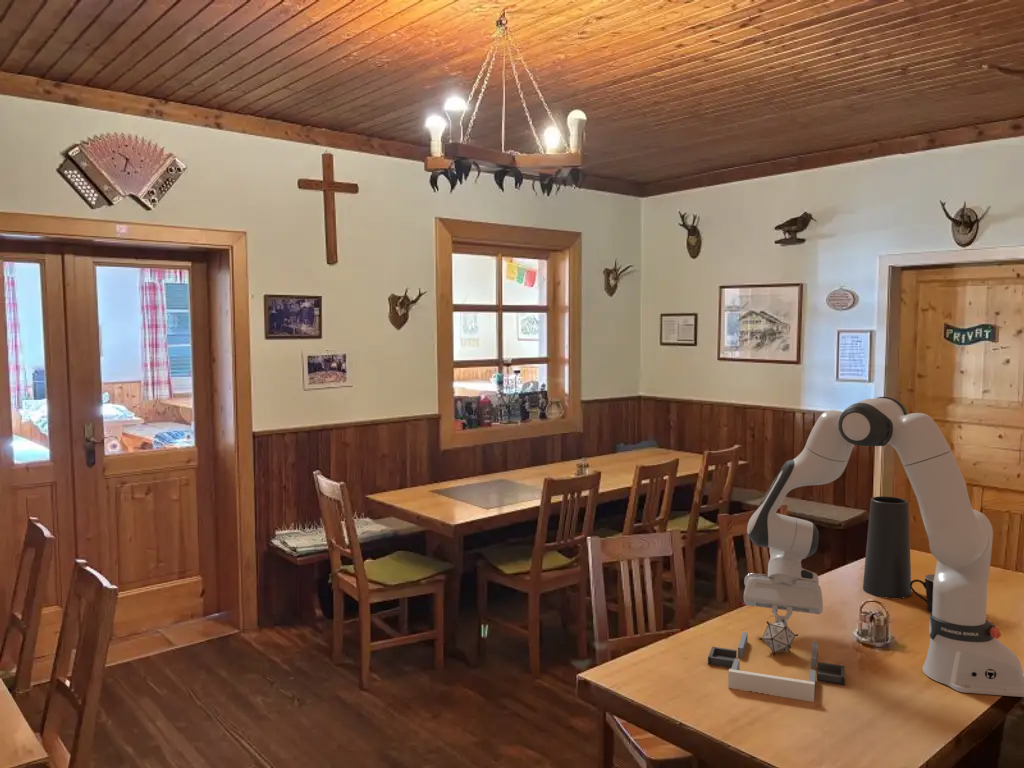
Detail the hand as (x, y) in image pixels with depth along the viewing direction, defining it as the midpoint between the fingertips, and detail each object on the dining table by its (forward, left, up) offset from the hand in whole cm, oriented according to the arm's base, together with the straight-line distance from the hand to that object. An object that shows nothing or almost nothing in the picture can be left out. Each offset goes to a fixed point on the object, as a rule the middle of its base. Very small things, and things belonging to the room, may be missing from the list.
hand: (781, 623), depth 211 cm
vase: (-28, -52, -5) cm, 59 cm away
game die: (0, +9, -5) cm, 10 cm away
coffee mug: (-40, -38, -5) cm, 55 cm away
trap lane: (0, +19, -4) cm, 19 cm away
